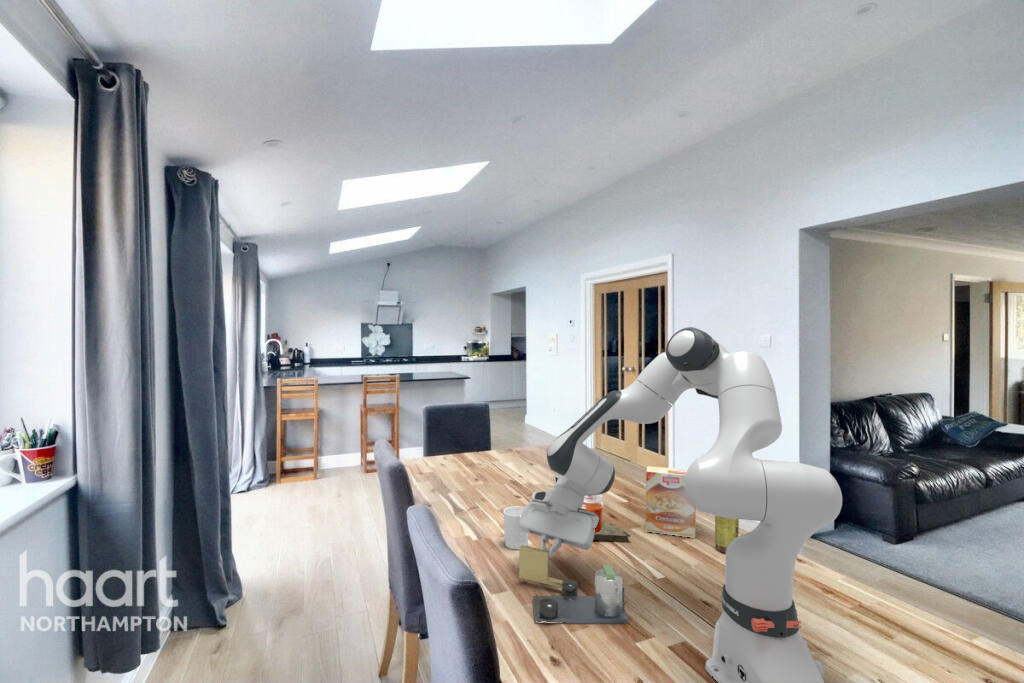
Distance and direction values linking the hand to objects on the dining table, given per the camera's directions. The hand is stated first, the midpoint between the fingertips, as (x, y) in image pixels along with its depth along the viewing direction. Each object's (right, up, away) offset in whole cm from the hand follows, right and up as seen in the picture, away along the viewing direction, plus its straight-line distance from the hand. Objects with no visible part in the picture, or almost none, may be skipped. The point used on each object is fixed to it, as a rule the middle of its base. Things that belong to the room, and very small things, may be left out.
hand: (545, 555), depth 118 cm
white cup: (-7, -7, +23) cm, 25 cm away
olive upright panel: (+1, -7, -2) cm, 7 cm away
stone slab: (+17, -8, +33) cm, 38 cm away
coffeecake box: (+42, -8, +33) cm, 54 cm away
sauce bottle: (+54, -8, +21) cm, 58 cm away
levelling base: (+7, -7, -11) cm, 15 cm away
